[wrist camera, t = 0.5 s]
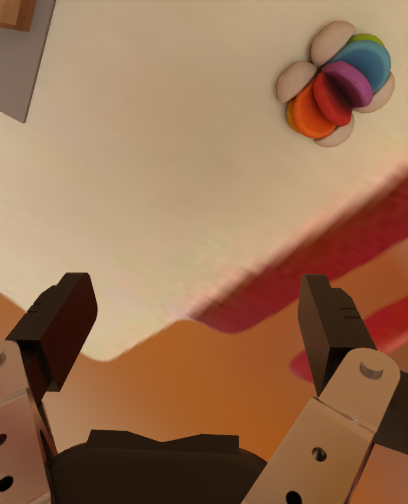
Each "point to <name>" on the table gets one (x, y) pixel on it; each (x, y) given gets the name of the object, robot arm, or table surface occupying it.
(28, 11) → the walnut block
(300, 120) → the multicoloured rounded cluster
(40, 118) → the table surface
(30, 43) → the slate mat
